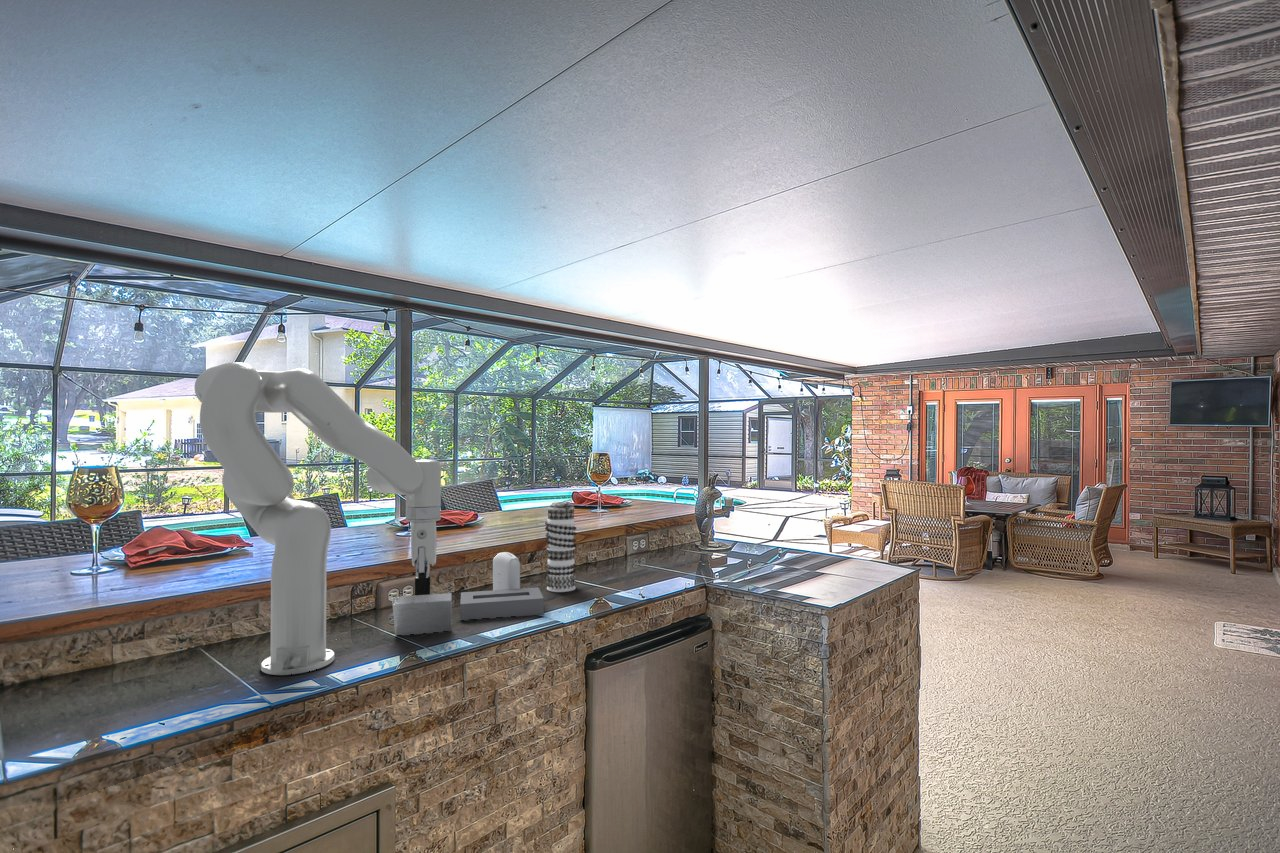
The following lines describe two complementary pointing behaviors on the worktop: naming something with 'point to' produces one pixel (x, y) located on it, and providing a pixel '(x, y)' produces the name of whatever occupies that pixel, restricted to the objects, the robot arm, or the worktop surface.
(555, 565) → the decorative candle
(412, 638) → the worktop surface
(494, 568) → the white rounded box
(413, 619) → the cover plate
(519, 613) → the slot holder
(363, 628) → the worktop surface
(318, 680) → the worktop surface
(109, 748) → the worktop surface
